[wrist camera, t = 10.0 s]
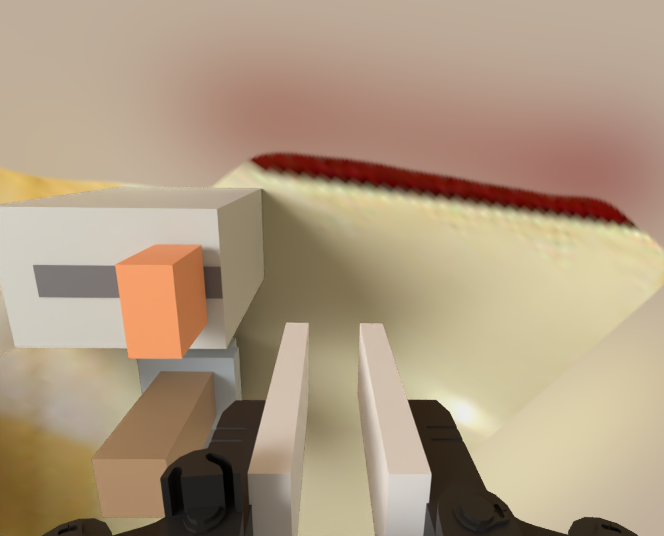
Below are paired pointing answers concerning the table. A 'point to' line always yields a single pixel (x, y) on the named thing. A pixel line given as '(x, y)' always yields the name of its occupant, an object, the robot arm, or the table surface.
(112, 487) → the carriage
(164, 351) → the block
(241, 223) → the cabinet
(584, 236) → the table surface
